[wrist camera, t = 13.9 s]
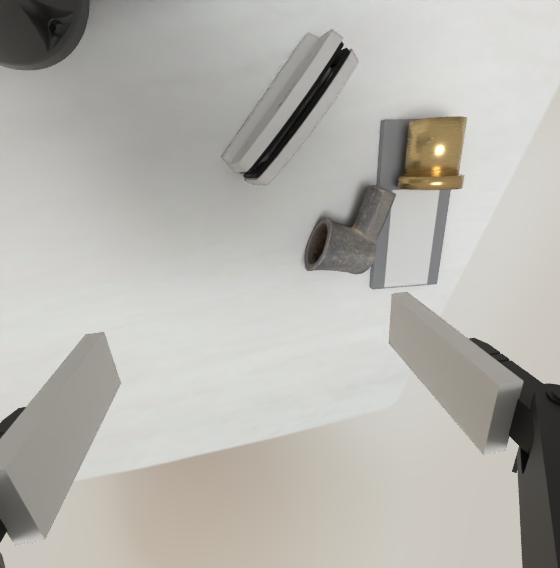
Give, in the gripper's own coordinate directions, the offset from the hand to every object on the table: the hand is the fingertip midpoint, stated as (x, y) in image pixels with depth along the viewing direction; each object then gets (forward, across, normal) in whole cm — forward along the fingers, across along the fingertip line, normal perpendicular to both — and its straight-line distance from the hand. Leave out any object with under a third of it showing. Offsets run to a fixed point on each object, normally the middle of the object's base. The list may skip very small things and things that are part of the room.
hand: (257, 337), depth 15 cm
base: (+29, +23, -1) cm, 37 cm away
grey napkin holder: (+30, +6, +12) cm, 33 cm away
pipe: (+27, +18, -4) cm, 32 cm away
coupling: (+29, +24, +7) cm, 38 cm away
